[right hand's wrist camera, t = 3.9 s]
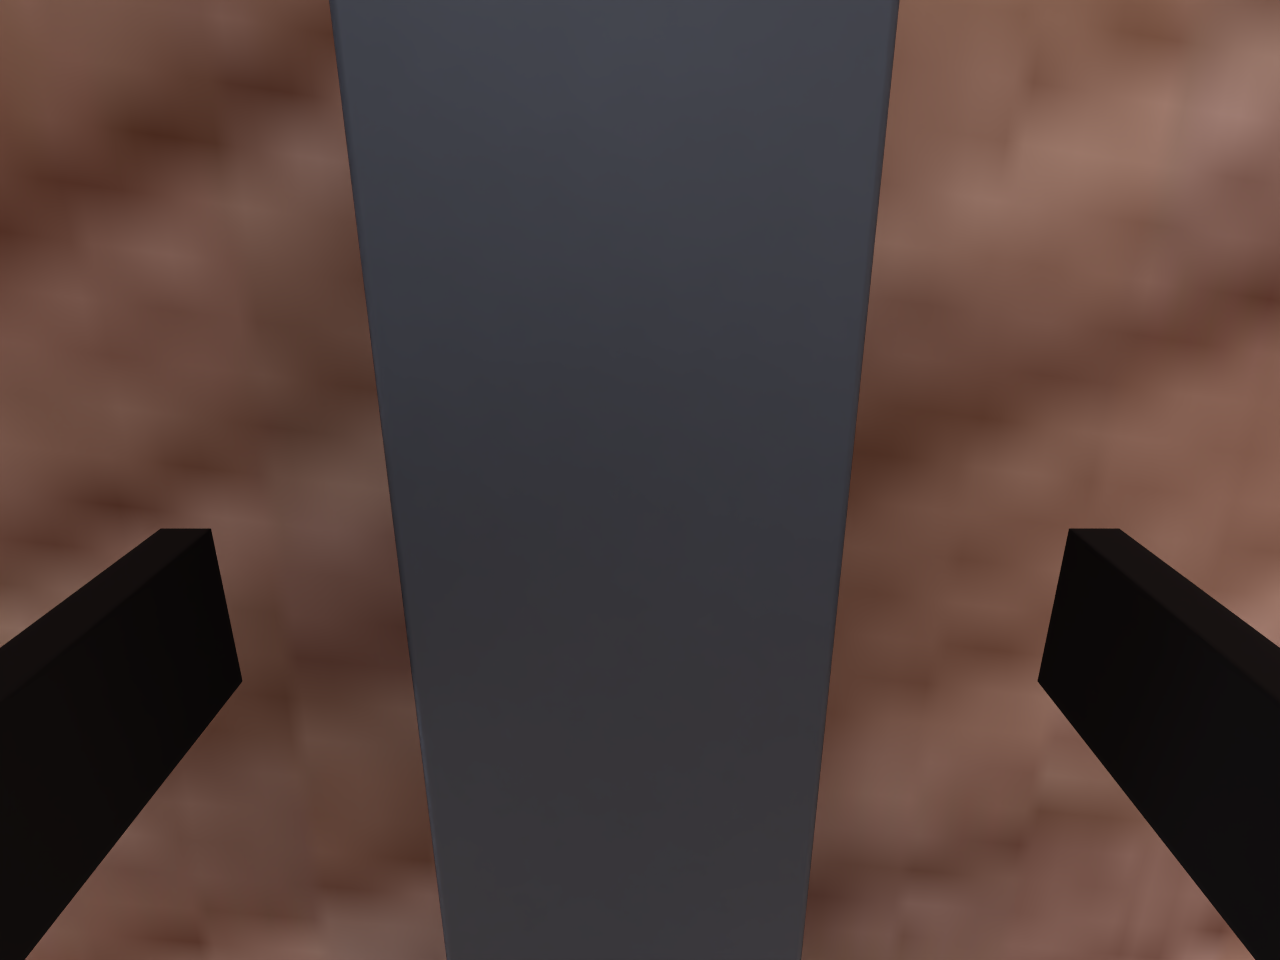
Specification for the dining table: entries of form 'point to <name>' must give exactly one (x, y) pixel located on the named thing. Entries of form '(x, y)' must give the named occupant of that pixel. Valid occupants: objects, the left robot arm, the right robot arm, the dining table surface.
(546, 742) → the beam
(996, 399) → the dining table surface
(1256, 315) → the dining table surface
